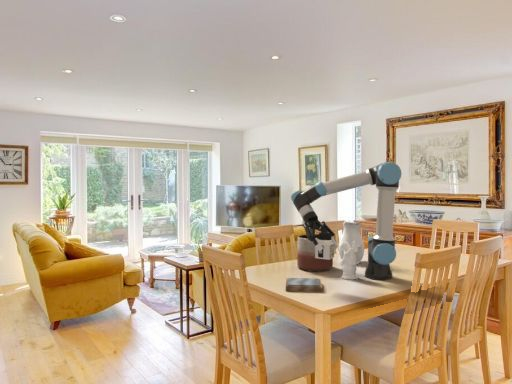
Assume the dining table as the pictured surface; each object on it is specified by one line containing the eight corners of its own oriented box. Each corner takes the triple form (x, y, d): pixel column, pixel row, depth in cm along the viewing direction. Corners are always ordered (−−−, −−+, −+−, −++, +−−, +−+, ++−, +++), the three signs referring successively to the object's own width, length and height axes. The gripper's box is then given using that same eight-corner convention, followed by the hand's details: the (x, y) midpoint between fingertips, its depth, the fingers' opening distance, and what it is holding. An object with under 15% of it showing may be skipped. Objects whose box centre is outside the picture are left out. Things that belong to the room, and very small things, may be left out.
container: (329, 259, 197) (330, 233, 197) (314, 258, 201) (315, 232, 200) (334, 257, 204) (334, 232, 203) (320, 255, 208) (320, 231, 207)
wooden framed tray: (320, 283, 211) (320, 278, 211) (322, 291, 196) (322, 285, 195) (286, 282, 213) (286, 277, 213) (285, 291, 197) (285, 285, 197)
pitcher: (367, 264, 259) (367, 222, 258) (341, 264, 259) (341, 222, 258) (358, 257, 282) (358, 218, 282) (334, 257, 283) (334, 218, 282)
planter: (291, 269, 245) (291, 237, 244) (304, 263, 264) (304, 233, 264) (326, 273, 234) (326, 239, 234) (337, 266, 254) (337, 235, 253)
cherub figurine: (337, 276, 228) (337, 238, 227) (355, 274, 232) (355, 237, 232) (349, 281, 216) (349, 240, 216) (368, 279, 221) (368, 239, 220)
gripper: (320, 218, 221) (340, 251, 208) (288, 220, 208) (308, 255, 196) (327, 210, 216) (348, 242, 204) (295, 211, 204) (316, 246, 191)
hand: (329, 248), depth 200 cm, fingers closed on container, 10 cm apart
